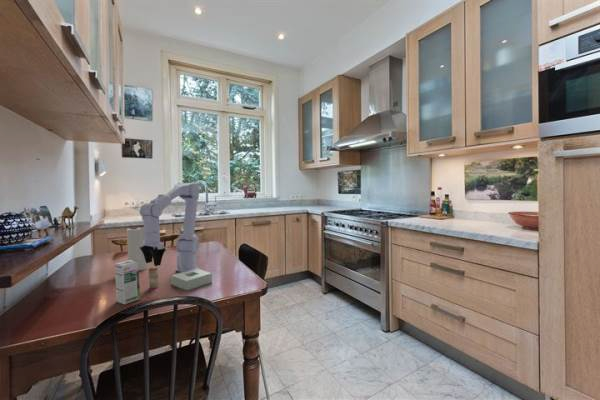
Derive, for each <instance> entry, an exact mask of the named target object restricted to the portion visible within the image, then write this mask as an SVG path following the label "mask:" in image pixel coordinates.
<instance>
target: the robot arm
mask: <svg viewBox="0 0 600 400" xmlns="http://www.w3.org/2000/svg"><path fill="white" fill-rule="evenodd" d="M178 197H180V199H182V200H183V201H184V202H185V211H184V220H183V230H182V234H180V235H179V236H178V237H177V241H176V244H175V249H176V251H177V252H178V254H177V256H176V269H175V271H177V272H178V273H182V272H185V271H189V270H192V269H196V268H197V269H200V268H199V267H197V256H196V253H198V251H199V250H200V249H199V248H200V240H199V239H200V238H199V237H198V236H197V235H196V234H195V231H196V230H195V227H196V220H197V218H196V217H197V210H198V201H199V197H200V187H199V185H198V184H197V183H196V182H187V183H186V182H178V183H176V184H174V187H173V188H171V189H170V190H169V191H168V192H167V193H159V194H158V195H157V196H156V198H154V199H151V200H150V201H149V203H148V202H147V203H144V204H142V205H141V207H140V209H139V214H140V216H141V218H142V219H141V220H142V222H143V228H144V241H142V246H143V247H140V249H141V251H142V253H143V255H144V258H145V261H146V263H147V264H149V263H152V262H153V265H154V267H158V266H161V264H162V259H163V257H164V253H165V252H166V250H167V249H166V247H164V243H162V242H161V235H160V234H161V233H160V217H161V215H162V214H163V211H164V210H165V209H166V208H167V207H169V206H170V205H171V203H172V200H174V199H176V198H178Z"/></svg>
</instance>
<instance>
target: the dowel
mask: <svg viewBox="0 0 600 400" xmlns="http://www.w3.org/2000/svg"><path fill="white" fill-rule="evenodd" d="M158 272H159V271H158V266H154V267H150V268H148V280H149V281H148V282H149V289H157V288H159V276H158V275H159V273H158Z"/></svg>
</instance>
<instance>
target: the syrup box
mask: <svg viewBox="0 0 600 400" xmlns="http://www.w3.org/2000/svg"><path fill="white" fill-rule="evenodd" d="M114 275H115V279H114V280H115V287H116V288H115V291H116V293H115V294H116V302H117V303H119V304H123V305H127V304H130V303H132V302H133V303H134V302H136V301H139V300H141V287H140V270H139V267H138V262H137V261H134V260H129V261H128V260H126V261H121V262H117V263H114Z"/></svg>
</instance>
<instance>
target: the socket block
mask: <svg viewBox="0 0 600 400" xmlns="http://www.w3.org/2000/svg"><path fill="white" fill-rule="evenodd" d="M197 268H198V267H196V269H192V270H189V271H185V272H178V273H174V274H171V275H170V278H171V285H172V286H174V287H176V288H179V289H180V290H181V289H182V290H184V291H186V290H187V291H190V290H192V289H196V288H198V287H201V286H205V285H207V284H211V283H213V275H212V274H213V273H212V272H209V271H206V270H202V269H200V268H199V269H197Z"/></svg>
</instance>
